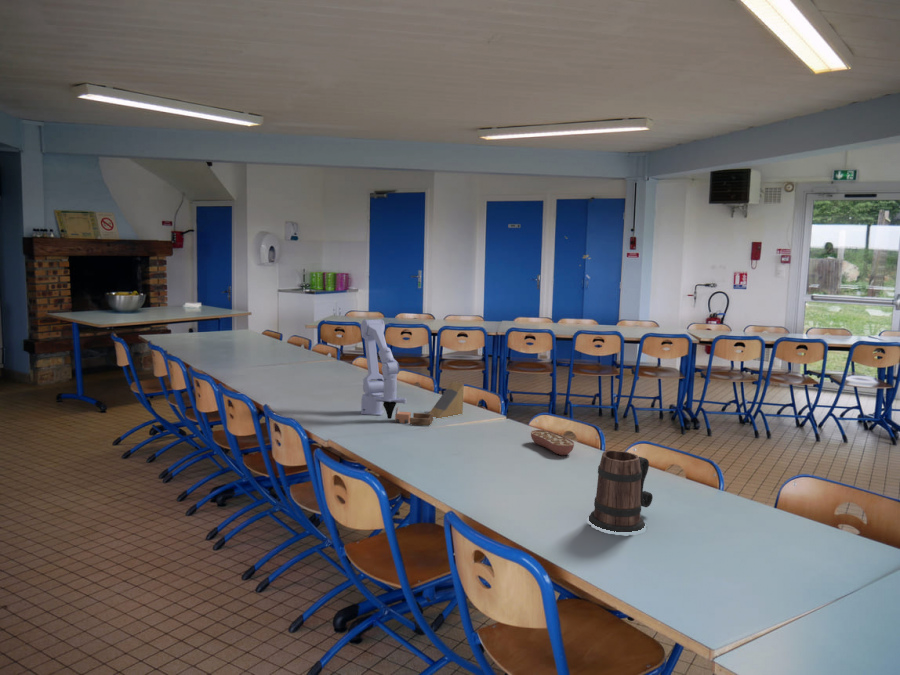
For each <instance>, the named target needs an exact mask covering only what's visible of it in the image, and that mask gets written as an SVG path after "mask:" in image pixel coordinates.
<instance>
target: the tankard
mask: <svg viewBox="0 0 900 675" xmlns="http://www.w3.org/2000/svg"><path fill="white" fill-rule="evenodd" d="M649 467H650V461H649V459H648V458H646V457H643V456H639V455H637V454H635V453H632V452H628V451H620V450H619V451H618V450H605V451H603V452H602V454H601V459H600V463H599V465H598V467H597V468H598V469H597V474H598V475H597V485H596V494H595V495H596V496H595V497H594V502H593V504H594V510H593V511H592V512H591V511H590V512H591V513H590V514H589V515H588V516H589V521H590V522H591V523H592V524H594V525H595V526H597V527H600V528H602V529H606V530H610V531H614V532H615V531H616V532H632V531H638V530H641V529H642V528H644V526H645V524H646V522H645V521H644V519H643V517H641V513H642V507H643V508H648V507H649V506H651V504H652V503H653V494H652V493H651V492H649V491H646V490H644V484H645V481H646V480H645V479H646V477H647V474H648V473H649Z"/></svg>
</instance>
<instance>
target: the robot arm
mask: <svg viewBox="0 0 900 675" xmlns="http://www.w3.org/2000/svg"><path fill="white" fill-rule="evenodd" d="M360 323H361V324H360V334H361V338H363V339H364V346H365V354H366V365H367V373H368V374H367V375H366V376H364V378H363V379H362V380H363V383H362V392H364V393H363V394H362V395H361V411H360V415H368V416H369V415H370V416H371V415H372V416H382V414H383V413H384V412H386V415H387V420H391V419H392V417H393V413H394V409H395V408H396V405H397V404H407V398H405V397H404V398H402V397H397V389H398V388H397V386H398V385H397V383H398V380H397V379H398V374H399V373H400V364H399V362H398V361H397V360H396V359H395V358H394V356H393V353H392V350H391V348H390V347H388V345H387V341H386V338H385V333H384V332H385V330H386V329H385V328H386V327H385V326H386V325H385V321H384V319H382V318H379V319H377V318H376V319H363V320H362V321H361V322H360ZM377 346H378V349H379V350H378V352H377ZM377 353H378V354H377ZM378 356H379V359H380V362H381V365H382V366H381V372H382V374H381V373H380V370H379V361H378ZM383 408H384V409H385V410H384V409H383Z"/></svg>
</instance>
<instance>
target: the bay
mask: <svg viewBox="0 0 900 675" xmlns="http://www.w3.org/2000/svg"><path fill="white" fill-rule="evenodd" d="M412 415H413V416H412V417H411V418H410V422H409V425H410V424H412V425H411V426H422V425H430V424H431V425H432V423H433V422H434V418H433V414H429V413H423V412H413V414H412ZM432 421H433V422H432ZM431 425H430V426H431Z"/></svg>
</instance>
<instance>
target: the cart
mask: <svg viewBox="0 0 900 675" xmlns="http://www.w3.org/2000/svg"><path fill="white" fill-rule="evenodd" d="M411 414H412V412H411V411H400V406H397V407H395V416H394V417H395V418H394V420H395V421H394V422H397V423H396V424H410V418H412V417H411ZM398 422H400V423H398ZM401 422H402V423H401Z"/></svg>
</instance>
